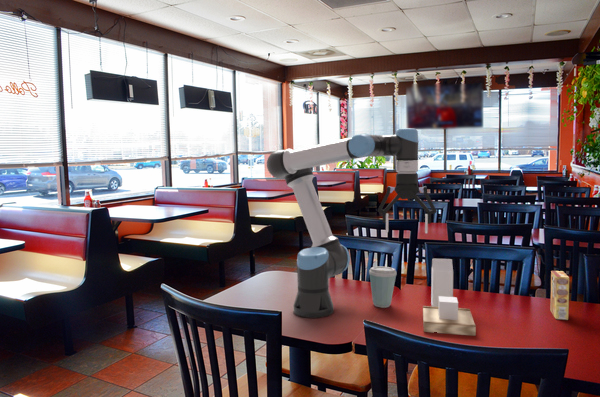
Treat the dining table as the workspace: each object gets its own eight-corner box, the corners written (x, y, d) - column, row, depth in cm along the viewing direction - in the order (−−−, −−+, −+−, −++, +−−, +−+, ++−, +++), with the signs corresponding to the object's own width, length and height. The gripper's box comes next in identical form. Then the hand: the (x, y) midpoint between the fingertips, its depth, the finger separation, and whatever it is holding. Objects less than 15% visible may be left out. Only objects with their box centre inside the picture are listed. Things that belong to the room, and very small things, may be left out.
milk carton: (452, 311, 166) (453, 261, 164) (432, 310, 167) (433, 260, 166) (450, 305, 173) (450, 257, 171) (431, 304, 174) (431, 256, 172)
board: (423, 331, 148) (423, 321, 147) (422, 314, 163) (423, 305, 163) (475, 335, 144) (475, 325, 143) (469, 318, 159) (469, 308, 159)
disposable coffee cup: (369, 300, 181) (369, 263, 179) (396, 301, 179) (396, 264, 177) (368, 309, 170) (367, 270, 169) (396, 310, 168) (397, 271, 167)
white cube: (439, 319, 151) (439, 301, 150) (438, 312, 157) (438, 296, 156) (458, 320, 149) (458, 302, 149) (456, 314, 155) (456, 297, 155)
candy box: (568, 320, 155) (570, 277, 154) (555, 319, 157) (556, 276, 155) (562, 312, 164) (563, 270, 162) (549, 311, 165) (550, 270, 164)
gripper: (370, 173, 157) (370, 233, 159) (444, 173, 151) (443, 235, 153) (372, 172, 164) (372, 229, 166) (443, 172, 158) (442, 231, 160)
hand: (406, 232), depth 160 cm, fingers open, 13 cm apart
